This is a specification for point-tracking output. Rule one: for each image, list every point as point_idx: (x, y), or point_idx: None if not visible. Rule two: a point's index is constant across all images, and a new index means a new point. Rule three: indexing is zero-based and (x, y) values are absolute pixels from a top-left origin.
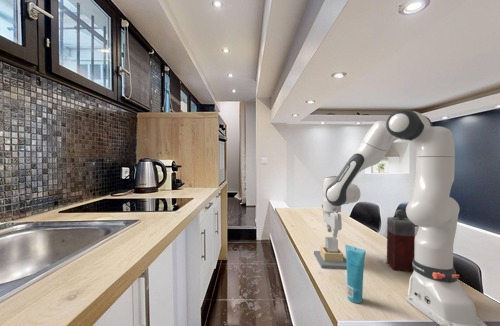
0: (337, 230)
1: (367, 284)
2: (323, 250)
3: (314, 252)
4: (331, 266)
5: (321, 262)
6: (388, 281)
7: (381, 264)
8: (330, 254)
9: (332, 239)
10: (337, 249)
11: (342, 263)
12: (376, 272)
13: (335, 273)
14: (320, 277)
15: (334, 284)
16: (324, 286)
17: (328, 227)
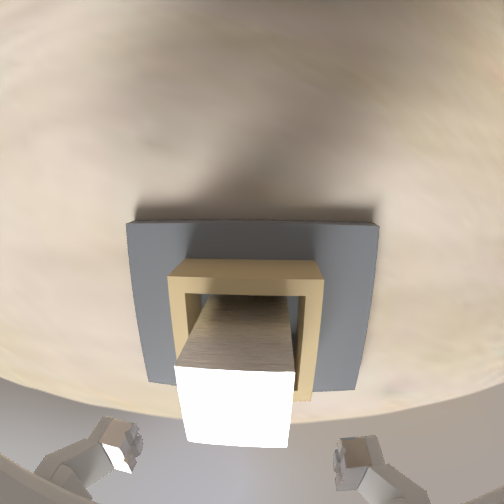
0: (424, 502)
1: (501, 213)
2: None
3: (169, 383)
4: (362, 341)
5: (323, 386)
6: (473, 94)
7: (272, 5)
8: (314, 364)
9: (263, 412)
10: (289, 325)
11: (338, 272)
12: (395, 88)
13: (410, 328)
14: (429, 390)
15: (481, 348)
16: (480, 380)
17: (101, 469)
